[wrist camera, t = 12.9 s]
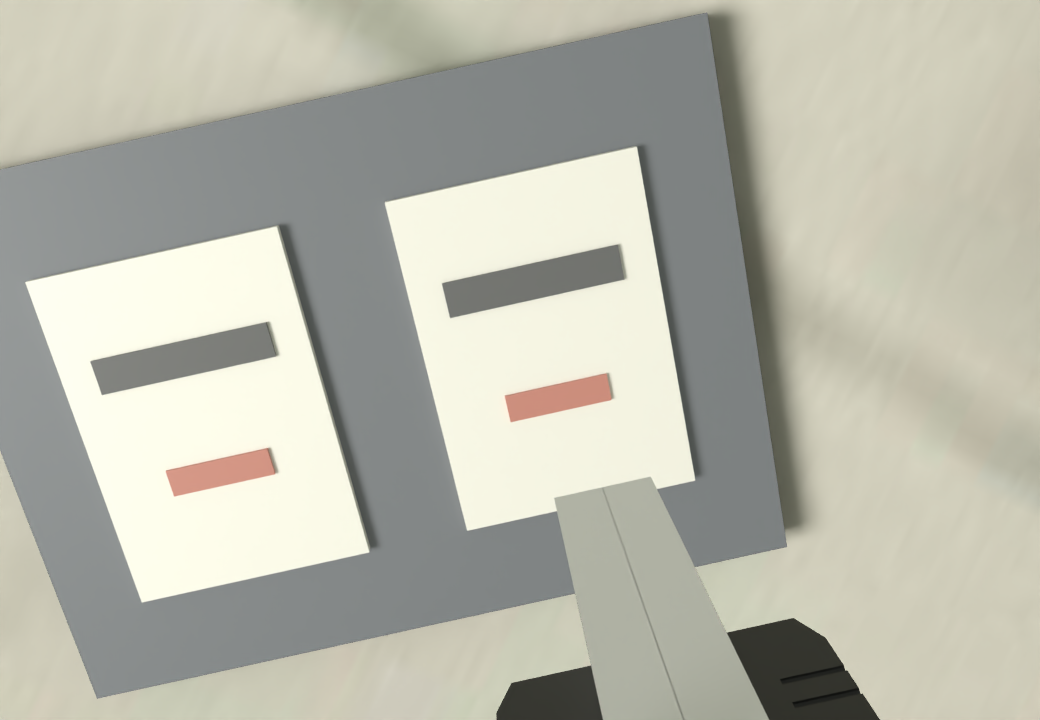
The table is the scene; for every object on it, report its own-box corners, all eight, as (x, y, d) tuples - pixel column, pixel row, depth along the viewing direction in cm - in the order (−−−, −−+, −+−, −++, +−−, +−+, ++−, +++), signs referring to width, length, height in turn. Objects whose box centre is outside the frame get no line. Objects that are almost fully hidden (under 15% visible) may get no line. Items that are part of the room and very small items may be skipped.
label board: (108, 679, 31) (92, 706, 29) (-81, 188, 26) (-110, 193, 25) (777, 532, 31) (791, 552, 29) (698, 15, 26) (711, 11, 25)
